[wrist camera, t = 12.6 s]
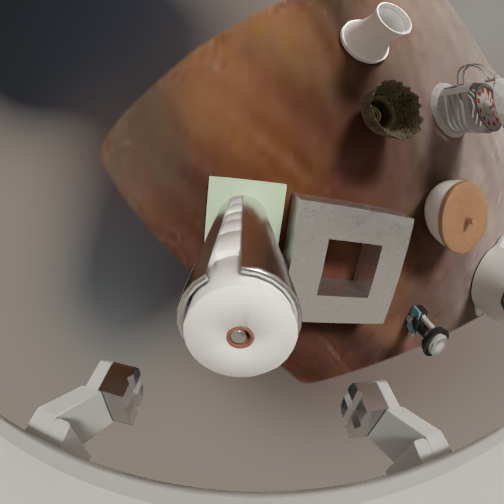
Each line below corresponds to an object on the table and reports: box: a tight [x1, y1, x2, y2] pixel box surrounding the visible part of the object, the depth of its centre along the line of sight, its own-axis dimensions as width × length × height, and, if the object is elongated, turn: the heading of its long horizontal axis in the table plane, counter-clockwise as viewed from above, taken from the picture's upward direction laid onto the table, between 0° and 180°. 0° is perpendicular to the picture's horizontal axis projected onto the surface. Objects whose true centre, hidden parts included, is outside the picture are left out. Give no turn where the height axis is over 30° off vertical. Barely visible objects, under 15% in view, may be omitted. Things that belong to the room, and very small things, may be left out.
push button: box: [407, 305, 449, 356], centre depth 40 cm, size 7×5×10 cm
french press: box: [431, 63, 504, 138], centre depth 19 cm, size 10×12×25 cm
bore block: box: [283, 193, 415, 324], centre depth 37 cm, size 16×16×6 cm
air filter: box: [176, 195, 302, 377], centre depth 24 cm, size 6×6×25 cm
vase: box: [340, 2, 412, 64], centre depth 24 cm, size 8×8×10 cm
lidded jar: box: [424, 180, 487, 254], centre depth 33 cm, size 11×11×9 cm
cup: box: [361, 80, 423, 140], centre depth 29 cm, size 8×7×8 cm
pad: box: [204, 176, 287, 244], centre depth 37 cm, size 10×10×1 cm
